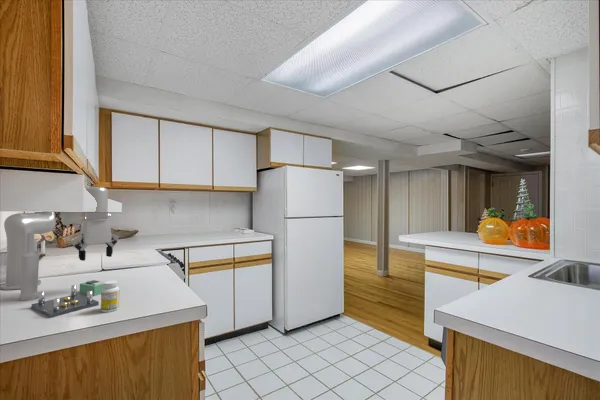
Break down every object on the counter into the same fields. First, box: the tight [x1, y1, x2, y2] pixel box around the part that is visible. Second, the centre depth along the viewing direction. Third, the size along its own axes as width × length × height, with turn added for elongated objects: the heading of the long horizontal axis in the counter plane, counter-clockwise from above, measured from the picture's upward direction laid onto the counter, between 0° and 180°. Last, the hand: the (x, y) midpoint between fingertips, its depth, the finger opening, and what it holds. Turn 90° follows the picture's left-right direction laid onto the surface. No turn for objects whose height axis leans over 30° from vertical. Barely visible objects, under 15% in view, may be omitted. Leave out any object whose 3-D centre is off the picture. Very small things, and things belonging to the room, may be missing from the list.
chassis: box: [30, 284, 100, 319], centre depth 102 cm, size 16×14×5 cm
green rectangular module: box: [79, 279, 105, 297], centre depth 118 cm, size 9×6×5 cm, turn 69°
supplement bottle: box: [100, 280, 120, 313], centre depth 100 cm, size 5×5×10 cm
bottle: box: [19, 233, 40, 301], centre depth 110 cm, size 5×5×25 cm
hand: (96, 258), depth 118 cm, fingers open, 9 cm apart
